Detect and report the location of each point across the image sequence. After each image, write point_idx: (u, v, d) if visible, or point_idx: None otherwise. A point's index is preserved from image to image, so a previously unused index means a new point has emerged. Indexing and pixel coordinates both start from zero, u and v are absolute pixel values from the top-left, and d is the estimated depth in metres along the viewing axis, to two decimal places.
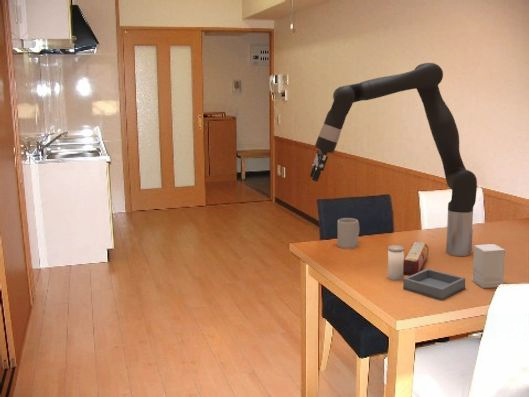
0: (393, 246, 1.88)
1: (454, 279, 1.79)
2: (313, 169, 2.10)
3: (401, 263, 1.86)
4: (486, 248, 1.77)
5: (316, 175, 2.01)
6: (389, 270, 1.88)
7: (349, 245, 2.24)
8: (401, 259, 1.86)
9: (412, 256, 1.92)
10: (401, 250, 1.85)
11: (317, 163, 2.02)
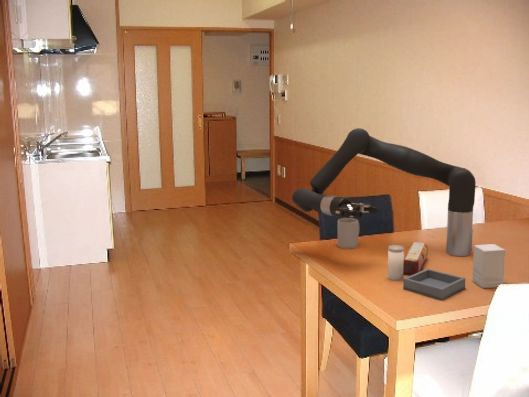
0: (393, 246, 1.88)
1: (454, 279, 1.79)
2: (370, 211, 1.98)
3: (401, 263, 1.86)
4: (486, 248, 1.77)
5: (355, 215, 1.91)
6: (389, 270, 1.88)
7: (349, 245, 2.24)
8: (401, 259, 1.86)
9: (412, 256, 1.92)
10: (401, 250, 1.85)
11: None
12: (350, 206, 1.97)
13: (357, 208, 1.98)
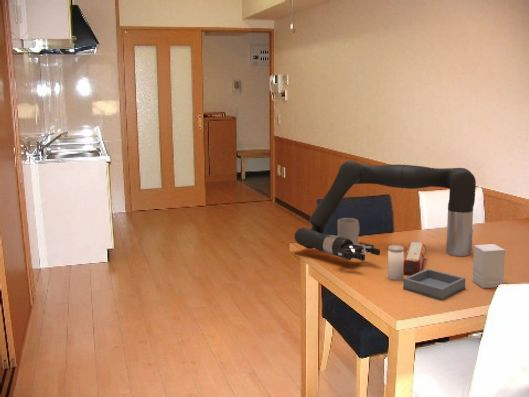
0: (393, 246, 1.88)
1: (454, 279, 1.79)
2: (372, 252, 2.00)
3: (401, 263, 1.86)
4: (486, 248, 1.77)
5: (357, 257, 1.94)
6: (389, 270, 1.88)
7: None
8: (401, 259, 1.86)
9: (413, 257, 1.92)
10: (401, 250, 1.85)
11: None
12: (352, 248, 1.99)
13: (359, 249, 2.00)
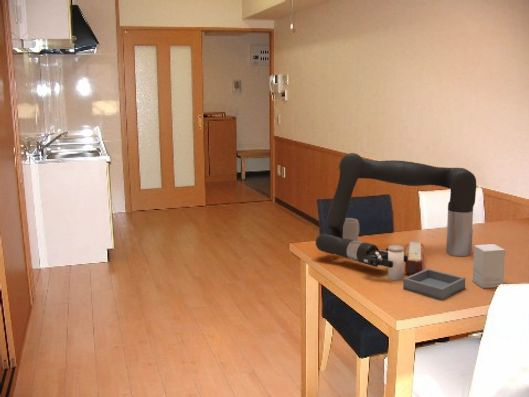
0: (393, 246, 1.88)
1: (454, 279, 1.79)
2: None
3: (401, 263, 1.86)
4: (486, 248, 1.77)
5: (385, 264, 1.85)
6: (389, 270, 1.88)
7: None
8: (401, 259, 1.86)
9: (415, 257, 1.92)
10: (401, 250, 1.85)
11: None
12: (378, 254, 1.90)
13: (386, 256, 1.92)
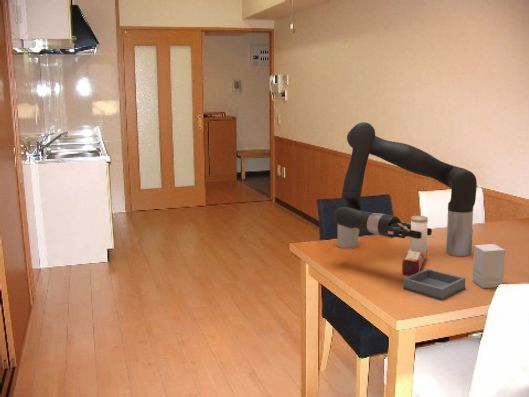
0: (416, 216, 1.79)
1: (454, 279, 1.79)
2: None
3: (424, 234, 1.77)
4: (486, 248, 1.77)
5: (413, 235, 1.76)
6: (412, 242, 1.79)
7: (349, 245, 2.24)
8: (425, 230, 1.77)
9: (412, 257, 1.92)
10: (425, 220, 1.76)
11: None
12: (403, 225, 1.81)
13: (406, 228, 1.82)
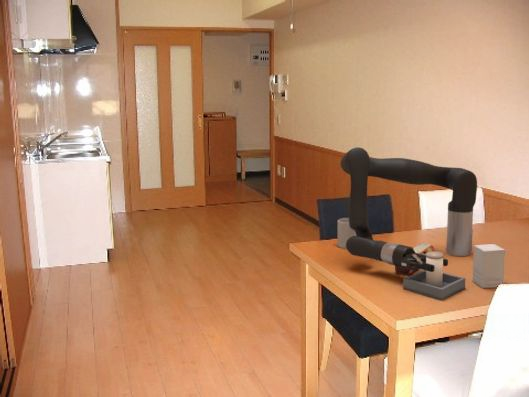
0: (431, 253, 1.77)
1: (454, 279, 1.79)
2: None
3: (440, 271, 1.75)
4: (486, 248, 1.77)
5: (425, 268, 1.73)
6: (427, 278, 1.77)
7: None
8: (440, 266, 1.75)
9: None
10: (440, 257, 1.74)
11: None
12: (417, 257, 1.78)
13: (423, 259, 1.80)
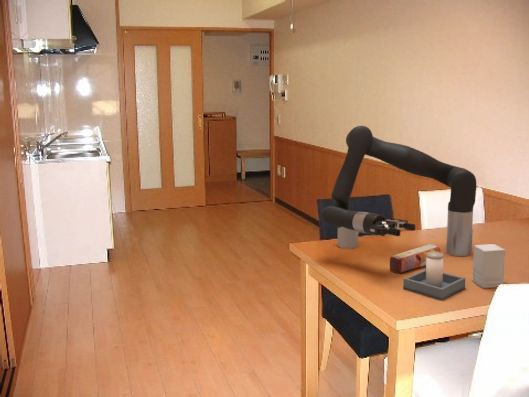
0: (432, 253, 1.77)
1: (454, 279, 1.79)
2: (406, 228, 1.88)
3: (440, 271, 1.75)
4: (486, 248, 1.77)
5: (392, 233, 1.81)
6: (427, 278, 1.77)
7: (349, 245, 2.24)
8: (441, 267, 1.75)
9: (400, 255, 1.95)
10: (441, 257, 1.74)
11: None
12: (385, 223, 1.86)
13: (392, 225, 1.88)
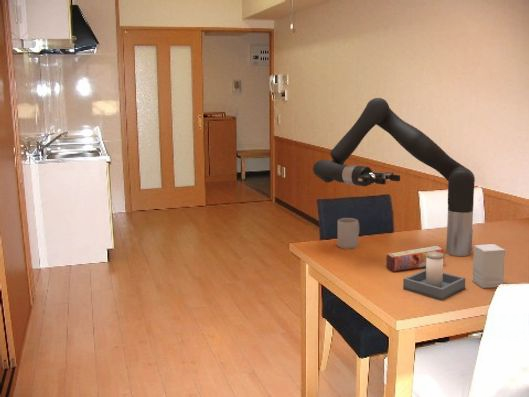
0: (432, 253, 1.77)
1: (454, 279, 1.79)
2: (392, 179, 2.01)
3: (440, 271, 1.75)
4: (486, 248, 1.77)
5: (378, 181, 1.94)
6: (427, 278, 1.77)
7: (349, 245, 2.24)
8: (441, 267, 1.75)
9: (396, 253, 1.96)
10: (441, 257, 1.74)
11: None
12: (372, 174, 1.99)
13: (379, 176, 2.01)
